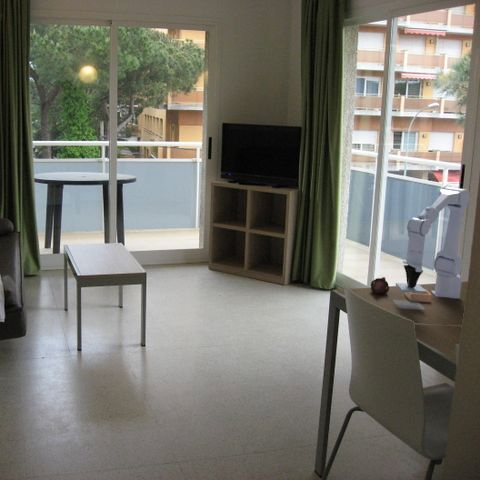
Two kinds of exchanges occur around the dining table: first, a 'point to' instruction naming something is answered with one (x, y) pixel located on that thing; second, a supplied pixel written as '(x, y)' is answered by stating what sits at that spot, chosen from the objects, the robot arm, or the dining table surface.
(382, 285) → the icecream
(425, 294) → the orange open box
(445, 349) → the dining table surface
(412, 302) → the mat
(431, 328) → the dining table surface
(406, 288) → the lid
